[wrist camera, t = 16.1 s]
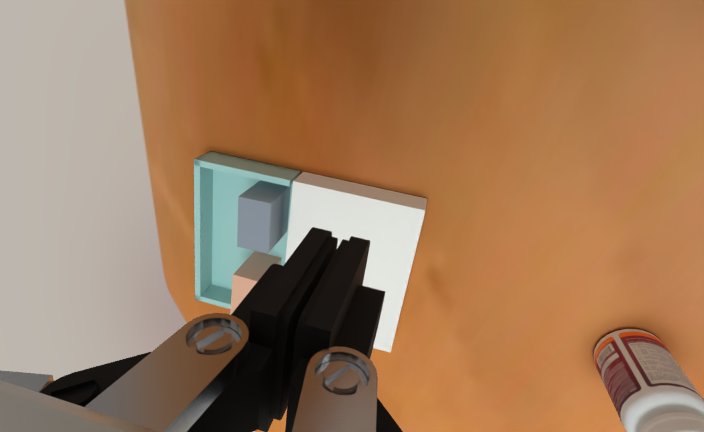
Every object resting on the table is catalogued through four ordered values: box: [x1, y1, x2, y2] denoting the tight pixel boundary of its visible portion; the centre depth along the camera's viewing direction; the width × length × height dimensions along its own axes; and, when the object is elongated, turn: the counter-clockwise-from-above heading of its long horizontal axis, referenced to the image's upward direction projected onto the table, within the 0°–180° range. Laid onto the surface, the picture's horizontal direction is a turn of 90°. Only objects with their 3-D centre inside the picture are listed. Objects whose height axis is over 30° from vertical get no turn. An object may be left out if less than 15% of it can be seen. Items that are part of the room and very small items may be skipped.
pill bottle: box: [594, 329, 704, 432], centre depth 35 cm, size 6×6×11 cm
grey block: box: [237, 180, 291, 254], centre depth 39 cm, size 5×5×3 cm
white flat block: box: [285, 172, 427, 352], centre depth 41 cm, size 12×16×3 cm
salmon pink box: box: [230, 251, 282, 315], centre depth 42 cm, size 5×5×3 cm
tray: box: [194, 152, 301, 309], centre depth 42 cm, size 9×16×3 cm, turn 171°
